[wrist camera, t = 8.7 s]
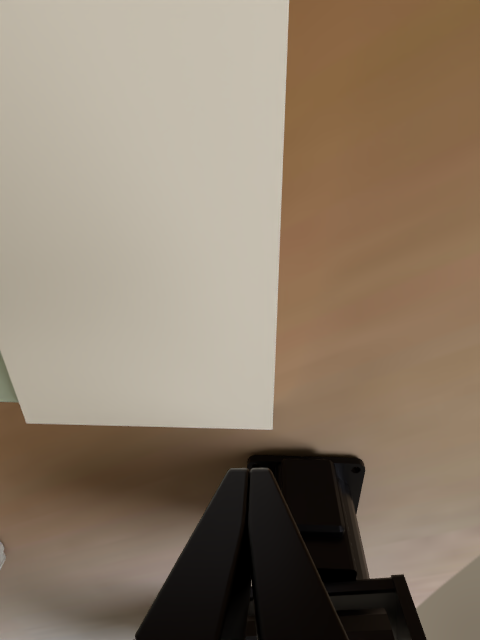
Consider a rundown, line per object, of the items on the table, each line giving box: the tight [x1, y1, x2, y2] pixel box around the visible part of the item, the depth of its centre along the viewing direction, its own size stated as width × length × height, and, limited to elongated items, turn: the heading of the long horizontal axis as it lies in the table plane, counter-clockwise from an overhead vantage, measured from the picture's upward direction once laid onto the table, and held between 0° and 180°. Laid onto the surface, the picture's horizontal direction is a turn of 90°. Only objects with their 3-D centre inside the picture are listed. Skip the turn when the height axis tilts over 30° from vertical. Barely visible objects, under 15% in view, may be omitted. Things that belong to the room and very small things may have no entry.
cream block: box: [0, 0, 289, 430], centre depth 16 cm, size 18×12×2 cm, turn 1°
